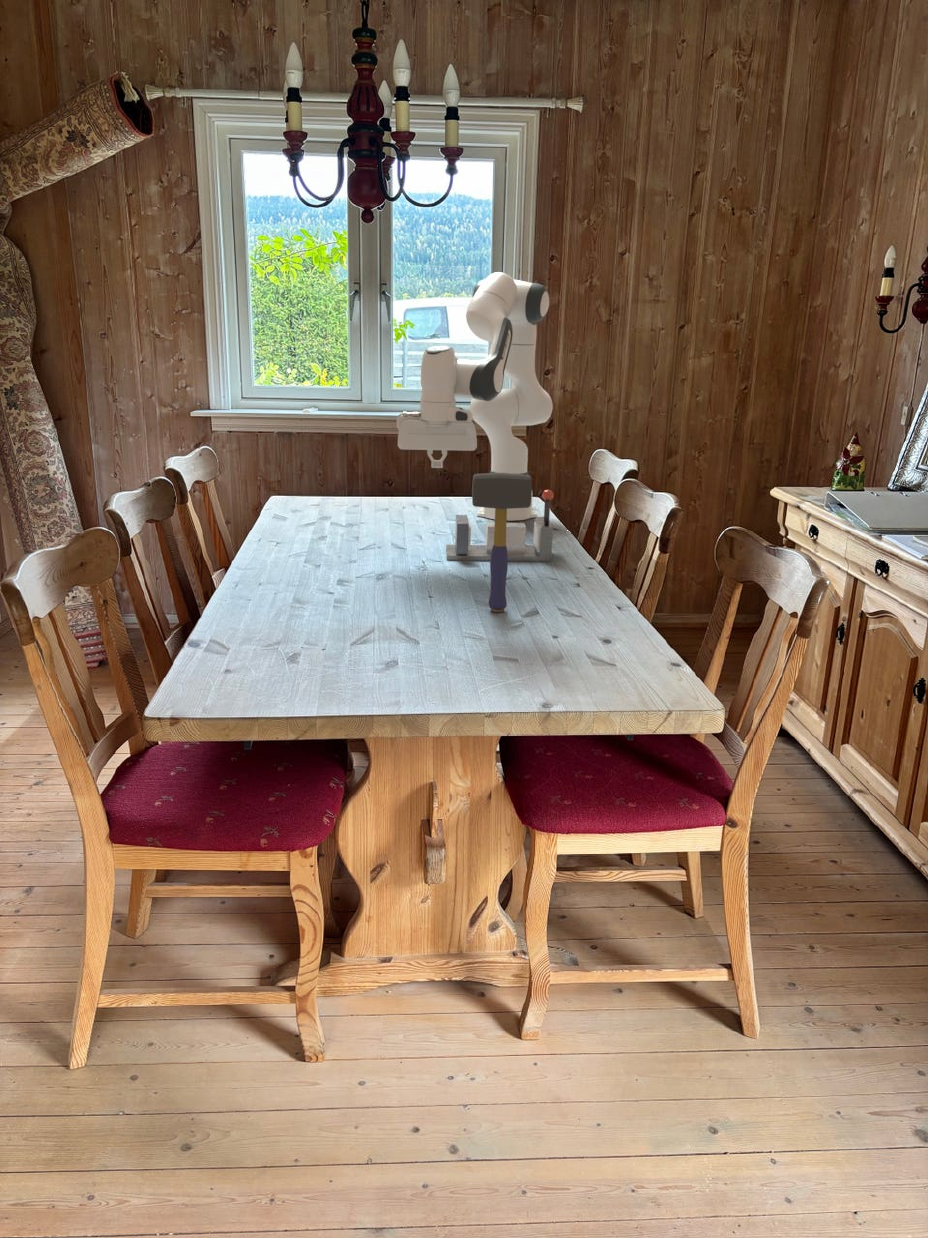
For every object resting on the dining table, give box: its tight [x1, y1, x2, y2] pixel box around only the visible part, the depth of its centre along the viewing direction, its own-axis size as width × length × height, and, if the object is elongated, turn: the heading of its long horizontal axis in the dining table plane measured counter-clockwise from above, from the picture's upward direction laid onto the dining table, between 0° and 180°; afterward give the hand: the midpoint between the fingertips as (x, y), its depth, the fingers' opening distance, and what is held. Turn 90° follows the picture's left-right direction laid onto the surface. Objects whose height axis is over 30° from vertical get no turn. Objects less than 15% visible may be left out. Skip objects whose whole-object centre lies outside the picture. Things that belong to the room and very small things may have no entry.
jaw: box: [454, 514, 472, 554], centre depth 257 cm, size 11×4×8 cm, turn 2°
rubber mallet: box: [471, 472, 533, 613], centre depth 208 cm, size 12×8×30 cm, turn 91°
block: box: [485, 521, 527, 553], centre depth 258 cm, size 5×10×7 cm, turn 92°
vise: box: [445, 489, 554, 563], centre depth 256 cm, size 12×27×18 cm, turn 92°
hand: (436, 467), depth 251 cm, fingers closed
